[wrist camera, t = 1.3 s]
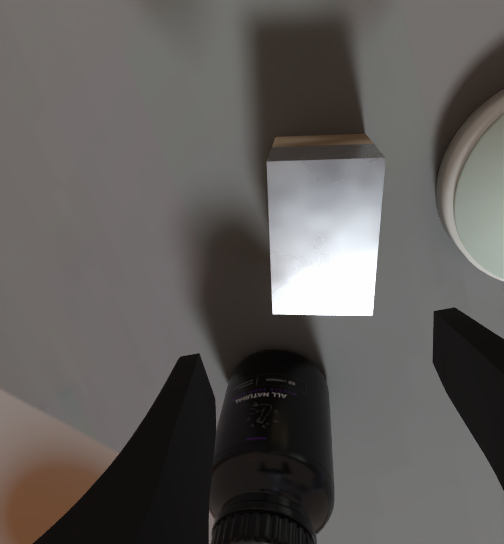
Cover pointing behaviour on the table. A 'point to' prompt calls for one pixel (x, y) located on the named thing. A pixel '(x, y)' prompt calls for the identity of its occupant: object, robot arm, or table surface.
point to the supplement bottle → (273, 453)
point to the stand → (476, 187)
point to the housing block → (324, 223)
